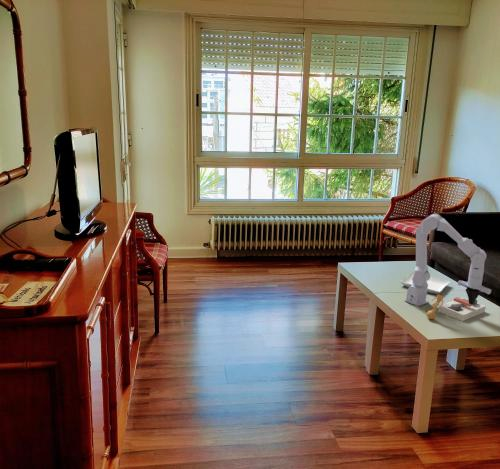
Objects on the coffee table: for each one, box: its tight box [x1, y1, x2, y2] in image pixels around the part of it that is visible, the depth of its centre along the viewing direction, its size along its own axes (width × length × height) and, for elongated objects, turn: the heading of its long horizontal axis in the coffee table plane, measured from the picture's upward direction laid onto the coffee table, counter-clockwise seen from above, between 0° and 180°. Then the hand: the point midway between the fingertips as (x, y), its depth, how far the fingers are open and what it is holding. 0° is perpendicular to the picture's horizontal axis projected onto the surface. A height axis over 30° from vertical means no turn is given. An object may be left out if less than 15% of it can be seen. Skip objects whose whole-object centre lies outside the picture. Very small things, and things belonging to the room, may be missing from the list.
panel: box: [437, 297, 487, 322], centre depth 214 cm, size 20×12×4 cm, turn 126°
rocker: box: [453, 296, 473, 307], centre depth 213 cm, size 3×8×1 cm, turn 36°
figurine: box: [426, 293, 444, 320], centre depth 203 cm, size 8×6×12 cm
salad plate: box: [399, 271, 451, 295], centre depth 246 cm, size 21×21×3 cm
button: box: [451, 304, 461, 312], centre depth 210 cm, size 4×4×3 cm
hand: (471, 303), depth 210 cm, fingers closed, pressing on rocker
